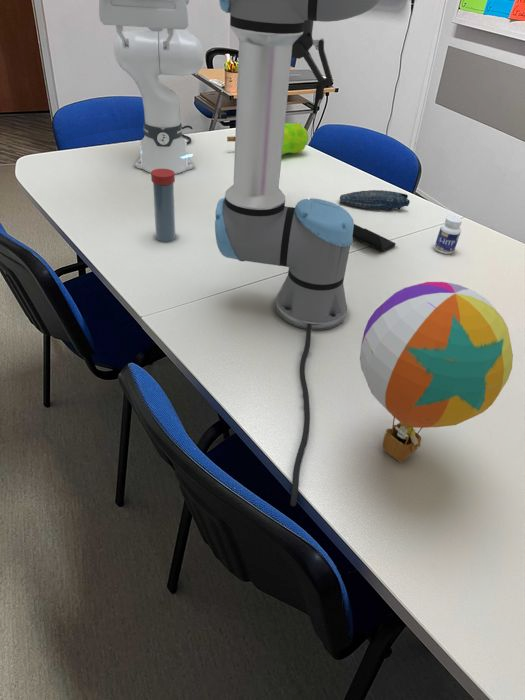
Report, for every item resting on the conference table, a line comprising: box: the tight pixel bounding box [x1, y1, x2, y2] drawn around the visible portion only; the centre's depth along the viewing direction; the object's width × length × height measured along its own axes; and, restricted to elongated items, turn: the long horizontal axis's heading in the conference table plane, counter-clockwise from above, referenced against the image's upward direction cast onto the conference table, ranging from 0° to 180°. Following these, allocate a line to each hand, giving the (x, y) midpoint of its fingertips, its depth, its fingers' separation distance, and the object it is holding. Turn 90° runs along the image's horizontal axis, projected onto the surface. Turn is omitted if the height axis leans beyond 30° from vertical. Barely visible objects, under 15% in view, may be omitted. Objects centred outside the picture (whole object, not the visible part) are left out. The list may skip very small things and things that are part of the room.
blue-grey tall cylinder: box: [152, 182, 176, 243], centre depth 129 cm, size 5×5×16 cm
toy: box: [359, 281, 514, 463], centre depth 73 cm, size 20×20×30 cm
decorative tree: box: [226, 122, 309, 156], centre depth 188 cm, size 18×10×30 cm
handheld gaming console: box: [352, 223, 396, 253], centre depth 138 cm, size 12×7×10 cm
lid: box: [150, 169, 176, 185], centre depth 124 cm, size 6×6×2 cm
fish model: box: [339, 189, 411, 211], centre depth 158 cm, size 7×21×5 cm, turn 84°
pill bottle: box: [434, 215, 463, 255], centre depth 137 cm, size 5×5×9 cm
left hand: (146, 49), depth 125 cm, fingers open, 8 cm apart
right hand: (288, 109), depth 135 cm, fingers open, 13 cm apart
